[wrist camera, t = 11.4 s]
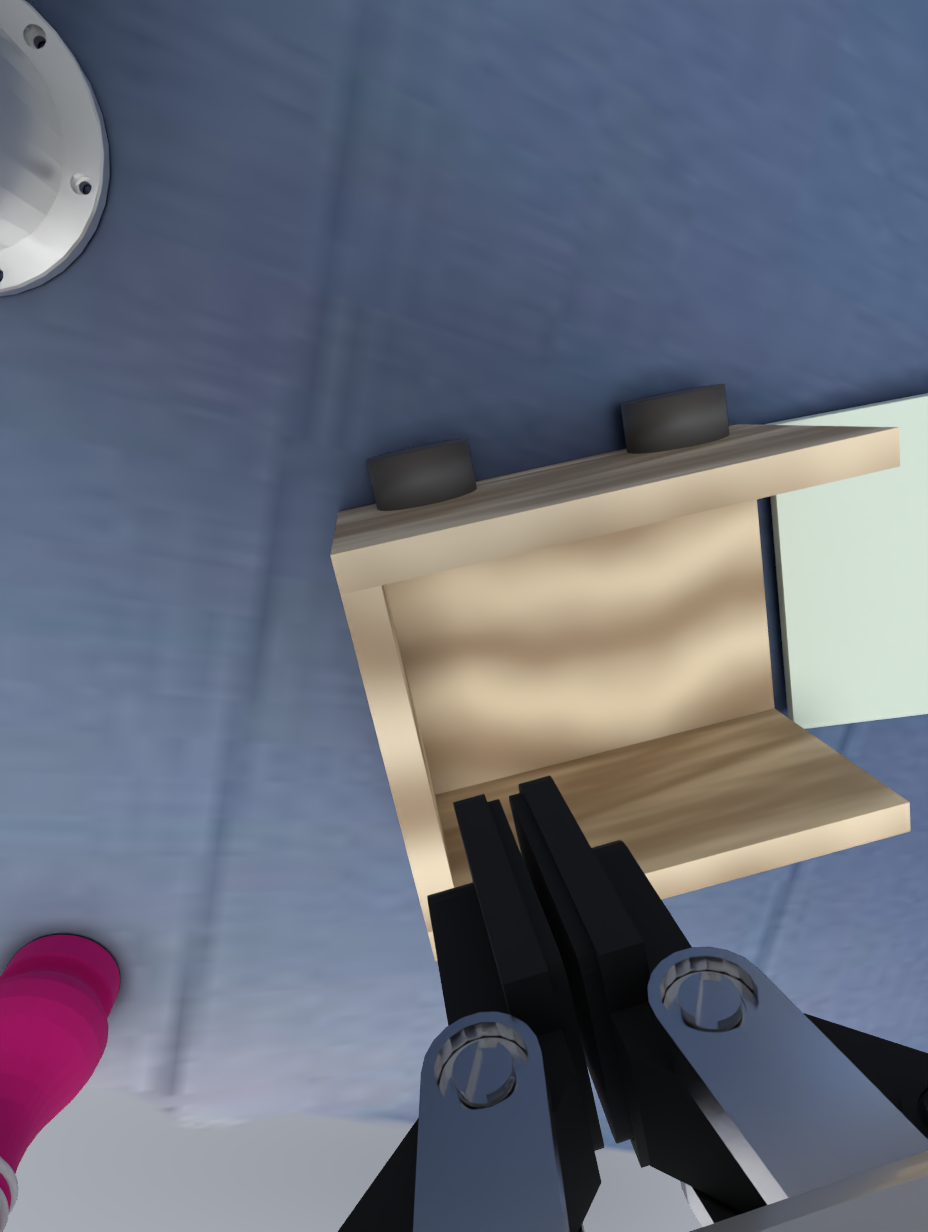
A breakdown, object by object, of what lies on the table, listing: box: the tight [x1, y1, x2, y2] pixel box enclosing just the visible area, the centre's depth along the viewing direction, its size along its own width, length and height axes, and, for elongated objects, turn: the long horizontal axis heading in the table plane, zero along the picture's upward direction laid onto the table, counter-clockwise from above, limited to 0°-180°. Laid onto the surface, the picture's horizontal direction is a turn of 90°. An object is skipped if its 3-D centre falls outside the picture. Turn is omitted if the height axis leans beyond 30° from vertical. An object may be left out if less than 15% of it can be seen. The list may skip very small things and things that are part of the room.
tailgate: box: [765, 393, 928, 729], centre depth 40 cm, size 18×2×11 cm
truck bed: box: [330, 384, 910, 961], centre depth 36 cm, size 23×22×12 cm
